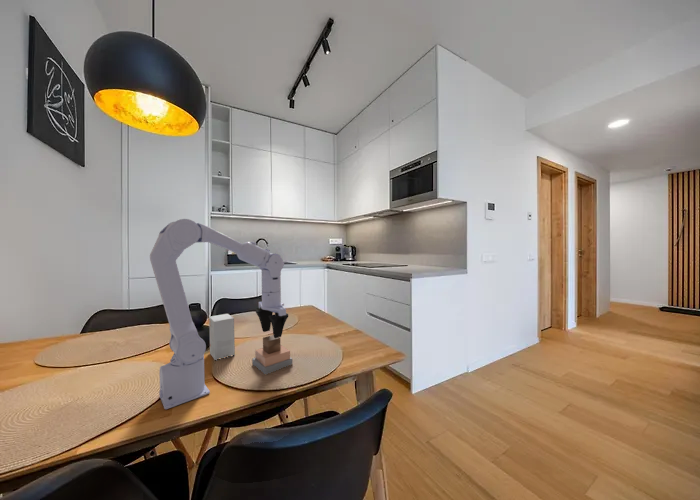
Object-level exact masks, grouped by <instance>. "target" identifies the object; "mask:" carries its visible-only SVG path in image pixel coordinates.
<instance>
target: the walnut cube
mask: <svg viewBox="0 0 700 500" xmlns="http://www.w3.org/2000/svg"><path fill="white" fill-rule="evenodd" d="M280 344H281V337H278V338H274V335H268V336H264V337H262V348H263V351H265V352H266V353H268V354H271V353H274V352H277V351H280V350H281V345H282V344H281V345H280Z"/></svg>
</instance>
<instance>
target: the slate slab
mask: <svg viewBox="0 0 700 500" xmlns="http://www.w3.org/2000/svg"><path fill="white" fill-rule="evenodd" d="M251 359H252V360H251V361H252V364H253V365H252V366H253V367H255V366H256V367H257V368H258V369H257V368H256V367H255V368H256V369H257V370H258V371H260V370H261V371H262V372H263V373H262V372H261V371H260V372H261V373H262V374H264V375H265V374H266V375H268V373H269V374H271V372H272V373H273V371H274V372H276V370H277V371H279V369H280V370H282V369H284V368H283V367H285V368H287V367H289V366H288V365H290V366H292V365H293V357H291V356H290V359H288V360H285V361H282V362H279V363H275V364H272V365H269V366H266V367H265V366H264V365H263V364H262V363H261V362H260V361H259V360H257V359H256V358H255V357H253V358H251ZM291 364H292V365H291ZM286 366H287V367H286ZM281 368H282V369H281Z"/></svg>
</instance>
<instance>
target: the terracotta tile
mask: <svg viewBox="0 0 700 500" xmlns="http://www.w3.org/2000/svg"><path fill="white" fill-rule="evenodd" d="M280 345H281V350H280V351H277V352H274V353H271V354H268V353H266V352H265V351H263V347H261V348H257V349H255V351H254V352H255V357H254V358H256V359H257V360H259V361H260V362H261V363H262V364H263V365H264V366H265V367H266V366H269V365H272V364H275V363H279V362H282V361H285V360H288V359H290V357H291V350H289V349H288V348H287V347H285V346H283V345H282V344H281V343H280Z"/></svg>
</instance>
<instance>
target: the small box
mask: <svg viewBox="0 0 700 500" xmlns="http://www.w3.org/2000/svg"><path fill="white" fill-rule="evenodd" d="M208 319H209V321H208V322H209V323H208V325H209V326H208V327H209V354H210V356H212V358H213V361H215V360H216V361H218V360H217V359H219V358H224V357H227V356H231V355H234V356H236V351H235V350H236V348H235V347H236V346H235V345H236V344H235V343H236V342H235V341H236V340H235V318H234V316H232V315H230V314H229V313H223V314H218V315H212V316H211V315H210V316H209V317H208ZM231 357H232V356H231ZM227 358H228V357H227ZM224 359H225V358H224Z"/></svg>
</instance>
